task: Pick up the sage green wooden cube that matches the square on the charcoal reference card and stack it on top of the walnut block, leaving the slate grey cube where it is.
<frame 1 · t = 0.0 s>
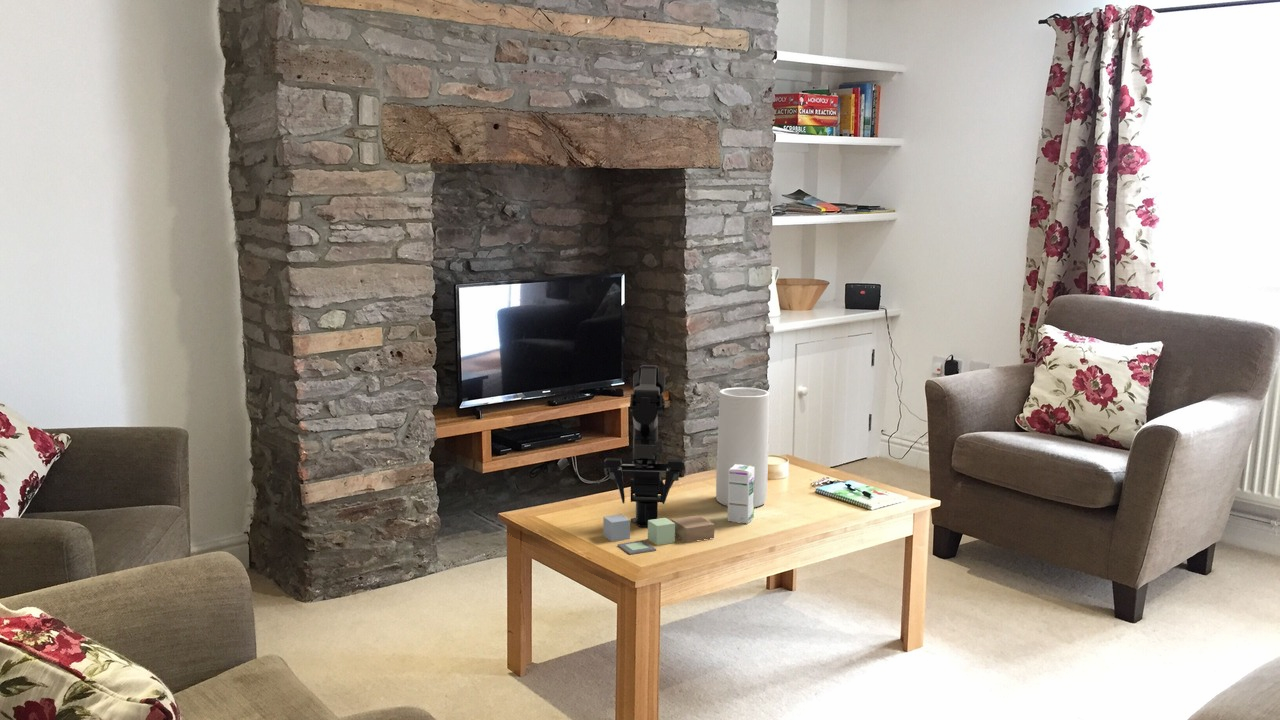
hand: (643, 503, 238), 15 cm above the table, tool tilted 35°, fingers open, 9 cm apart
green cube: (661, 541, 257), on the table
vase: (741, 502, 291), on the table
walnut block: (692, 536, 261), on the table
syrup box: (740, 520, 275), on the table
reference card: (636, 548, 252), on the table
slate cube: (616, 537, 259), on the table
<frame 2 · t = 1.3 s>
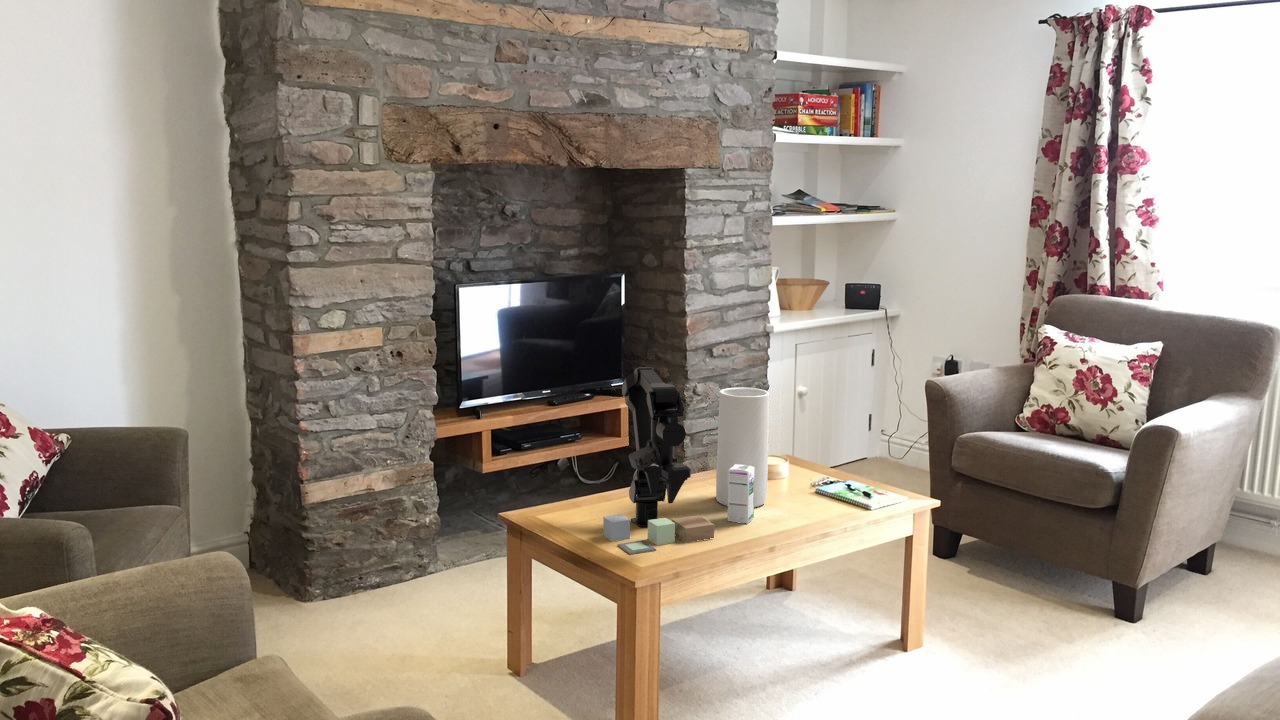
hand: (661, 498, 255), 11 cm above the table, tool pointing down, fingers open, 9 cm apart
nothing on the table moved.
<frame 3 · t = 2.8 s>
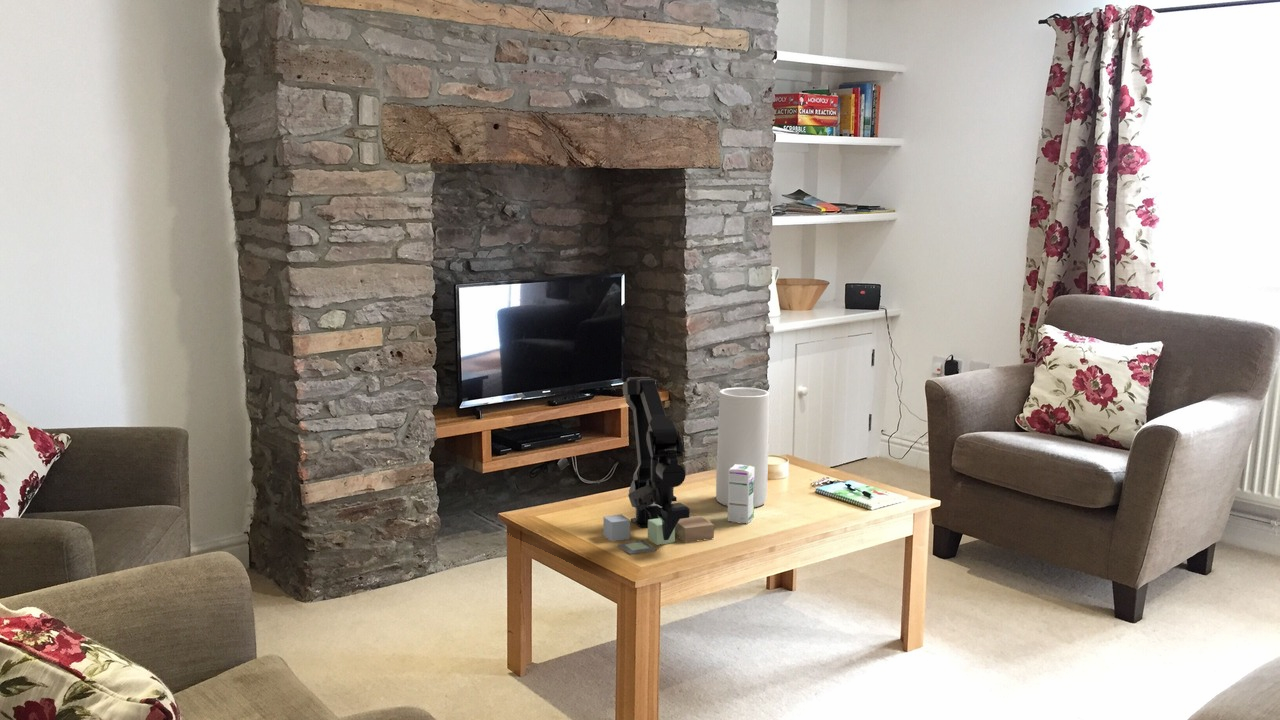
hand: (661, 536, 257), 1 cm above the table, tool pointing down, fingers closed on green cube, 5 cm apart
green cube: (661, 540, 257), on the table, touching gripper
everything else where it was.
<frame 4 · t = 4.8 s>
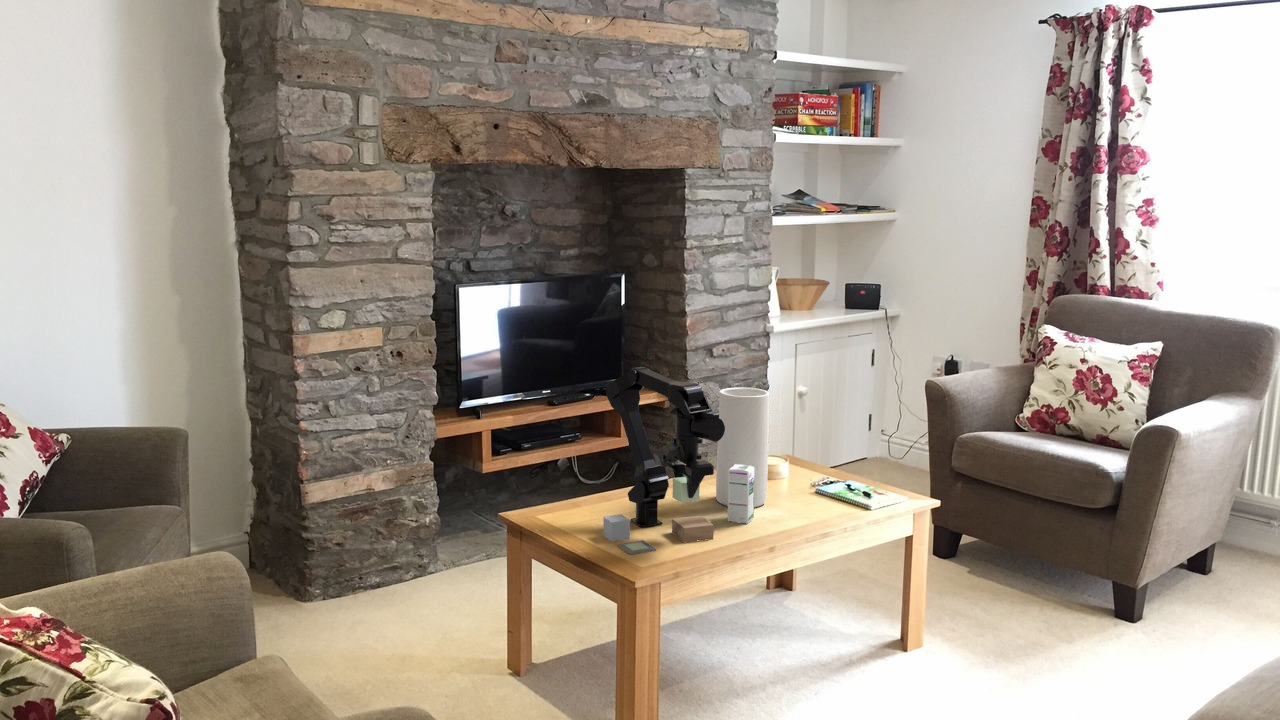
hand: (685, 494, 258), 11 cm above the table, tool pointing down, fingers closed on green cube, 5 cm apart
green cube: (685, 498, 258), point 10 cm above the table, touching gripper
everything else where it was.
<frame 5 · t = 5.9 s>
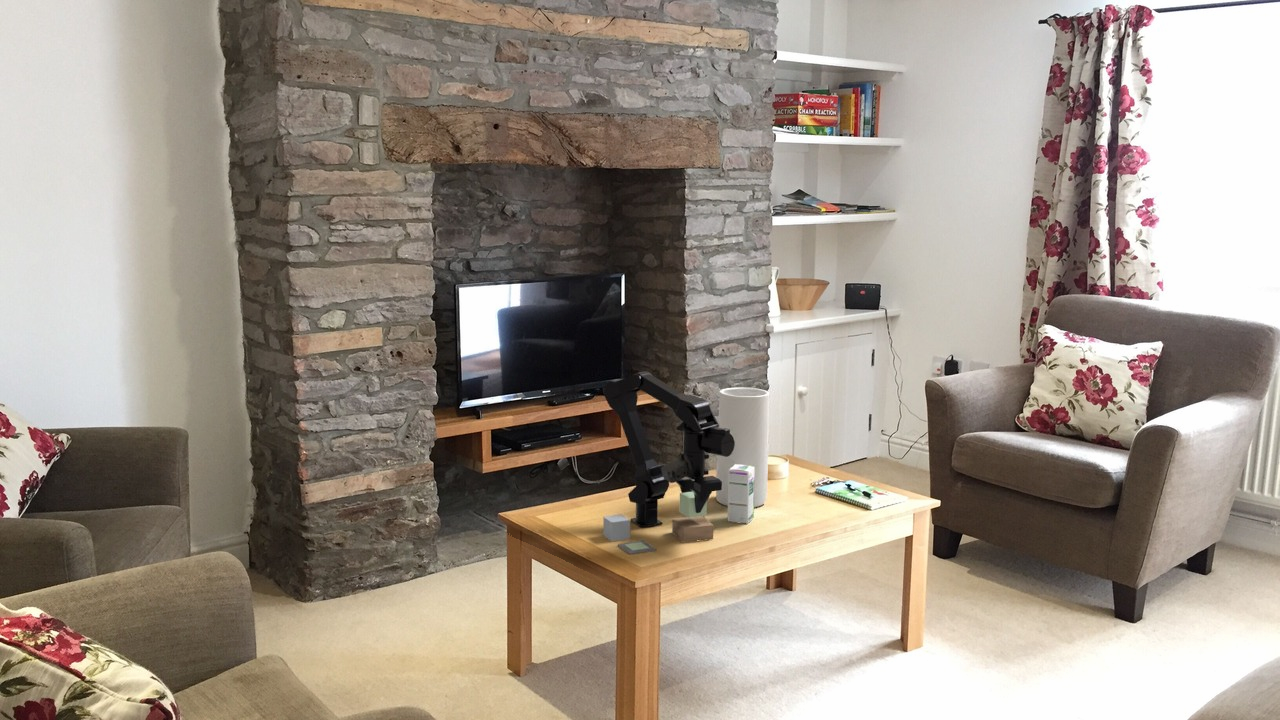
hand: (692, 509, 260), 7 cm above the table, tool pointing down, fingers closed on green cube, 5 cm apart
green cube: (692, 513, 260), point 6 cm above the table, touching gripper
everything else where it was.
when the fingers open (6 cm above the table, at t = 6.8 s): green cube drops 2 cm, resting on walnut block.
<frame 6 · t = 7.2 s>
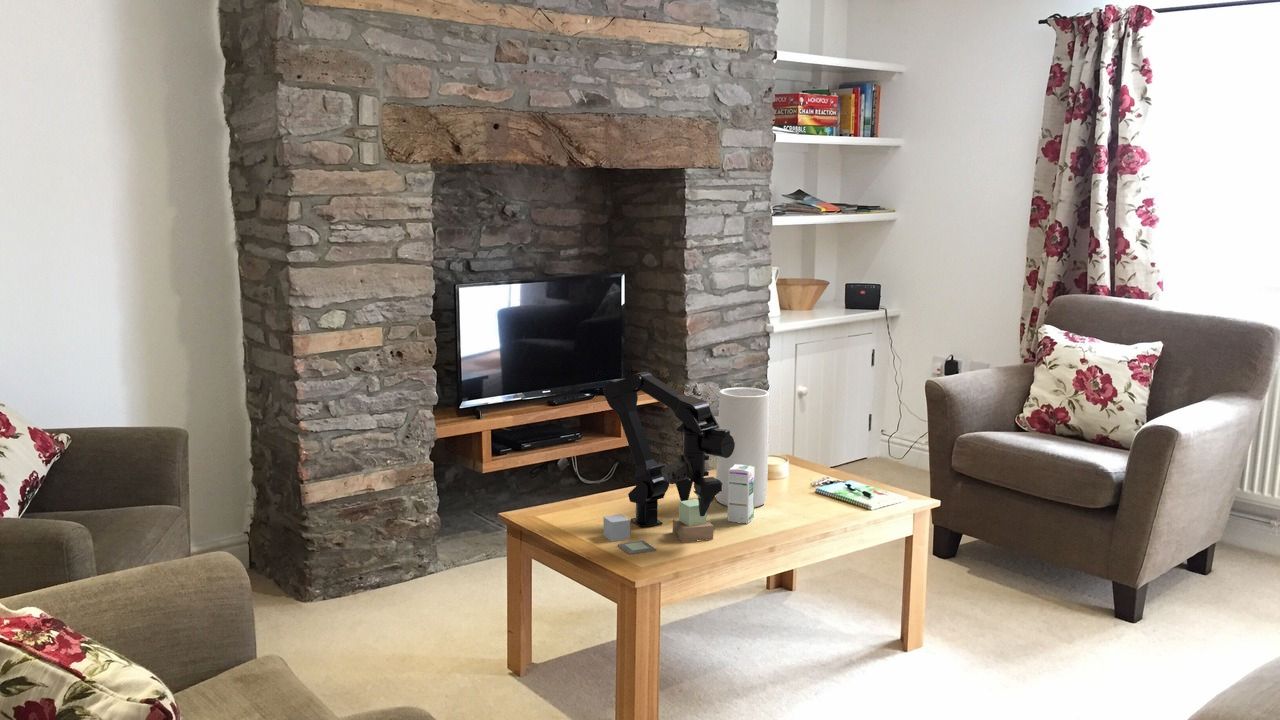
hand: (693, 511, 260), 6 cm above the table, tool pointing down, fingers open, 9 cm apart
green cube: (692, 521, 261), point 4 cm above the table, touching walnut block
walnut block: (692, 537, 261), on the table, touching green cube
everything else where it was.
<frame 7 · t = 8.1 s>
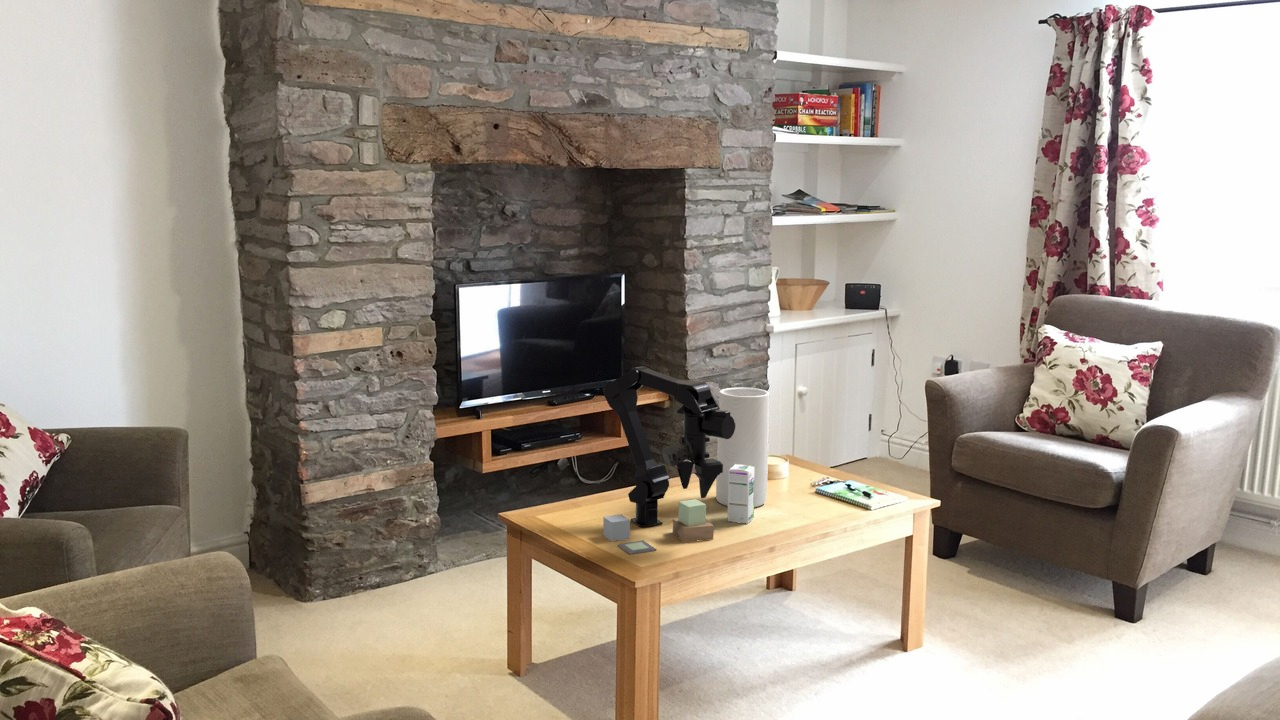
hand: (693, 493, 259), 11 cm above the table, tool pointing down, fingers open, 9 cm apart
green cube: (692, 522, 261), point 4 cm above the table
walnut block: (692, 537, 261), on the table
everything else where it was.
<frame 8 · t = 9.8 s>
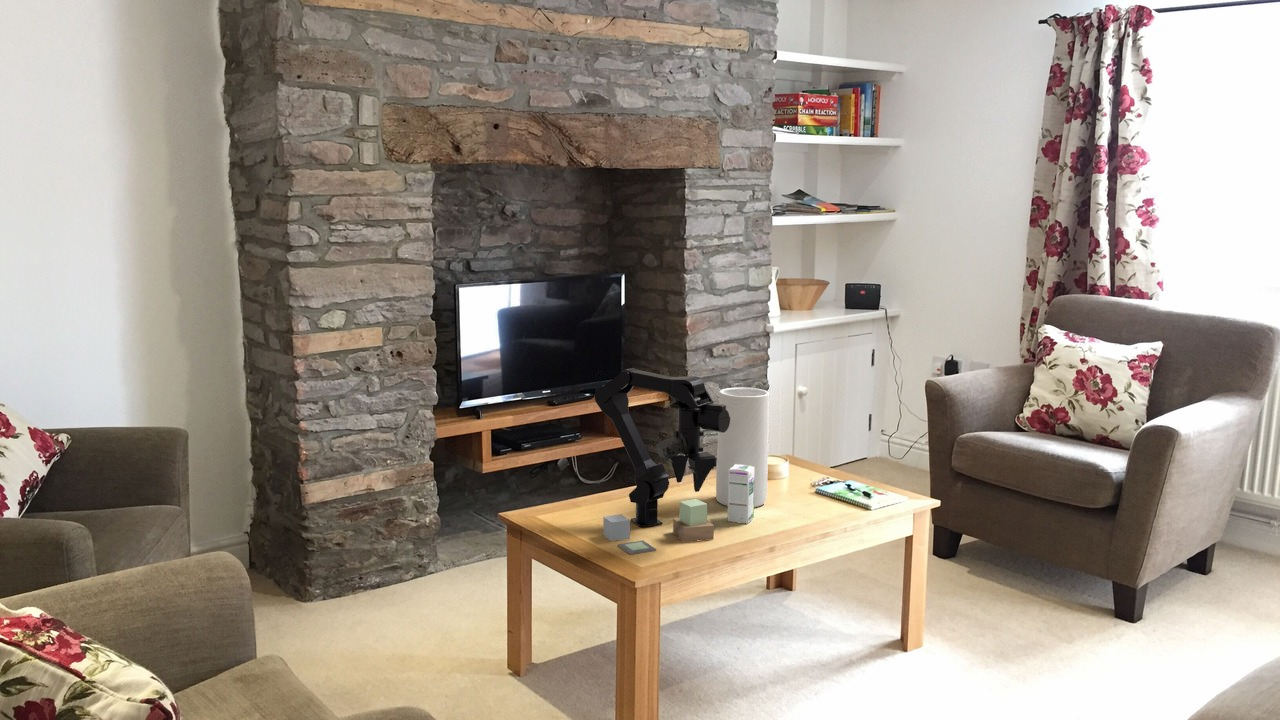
hand: (687, 486, 262), 12 cm above the table, tool pointing down, fingers open, 9 cm apart
green cube: (693, 521, 261), point 4 cm above the table, touching walnut block
walnut block: (693, 537, 261), on the table, touching green cube
everything else where it was.
at the end: green cube 0.0 cm off-centre on the walnut block, point 4.0 cm above the walnut block's base; green cube tilted 0°; the gripper is holding nothing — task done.
